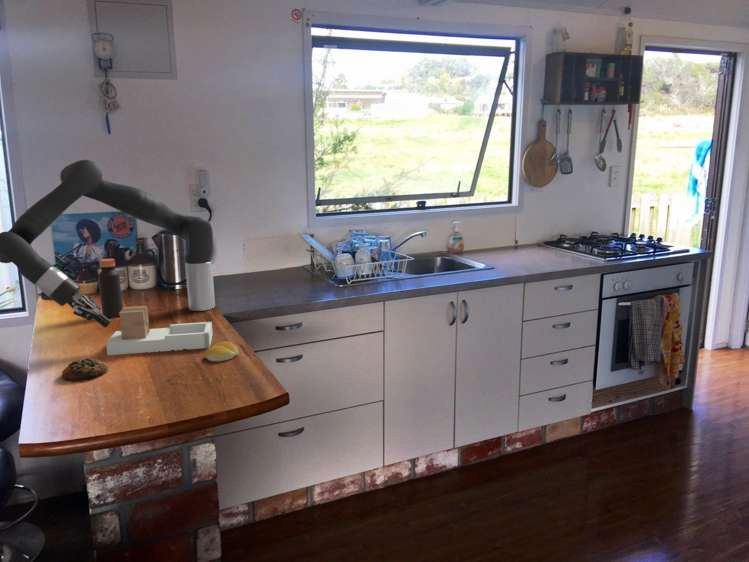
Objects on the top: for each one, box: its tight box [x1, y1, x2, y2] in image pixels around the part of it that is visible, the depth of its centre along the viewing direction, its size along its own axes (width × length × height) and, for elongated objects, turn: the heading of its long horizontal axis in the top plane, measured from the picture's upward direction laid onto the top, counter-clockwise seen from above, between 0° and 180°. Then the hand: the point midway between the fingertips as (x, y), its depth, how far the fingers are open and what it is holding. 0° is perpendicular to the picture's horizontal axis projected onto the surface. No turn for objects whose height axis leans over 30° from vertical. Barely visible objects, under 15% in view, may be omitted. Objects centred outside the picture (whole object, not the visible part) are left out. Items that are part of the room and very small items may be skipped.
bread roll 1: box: [61, 358, 109, 382], centre depth 161 cm, size 11×11×5 cm
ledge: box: [105, 327, 171, 356], centre depth 182 cm, size 12×16×4 cm
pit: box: [165, 321, 214, 352], centre depth 184 cm, size 12×12×4 cm
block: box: [119, 305, 150, 340], centre depth 181 cm, size 6×6×8 cm
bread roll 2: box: [204, 341, 239, 362], centre depth 172 cm, size 8×9×4 cm
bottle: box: [97, 258, 124, 319], centre depth 214 cm, size 7×7×20 cm
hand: (108, 324), depth 179 cm, fingers closed
